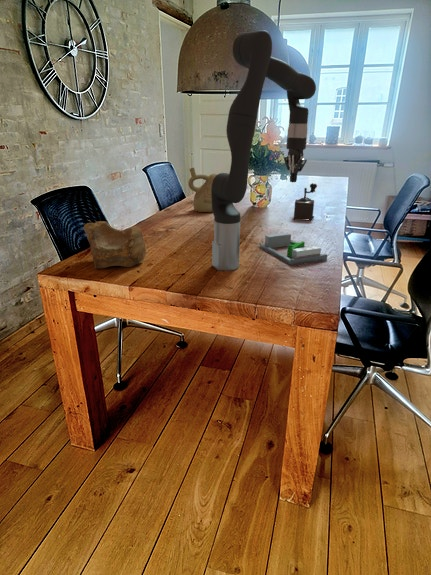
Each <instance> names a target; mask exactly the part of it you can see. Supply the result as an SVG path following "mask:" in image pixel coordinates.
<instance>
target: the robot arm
mask: <svg viewBox="0 0 431 575" xmlns="http://www.w3.org/2000/svg"><path fill="white" fill-rule="evenodd" d="M272 40H273V38H272V36H271V34H270V33H269V31H267V30H265V29H264V30H263V29H261V30H253V31H248V32H246V31H245V32H242V33H240V34H238V35H237V36H236V37H235V39H234V40H233V44H232V56H233V58H234V61H235V62H236V63H237V64H238V65H239V66H241V67H244V68H246V69H248V70H247V71H248V72H247V75H246V79H245V81H244V83H243V85H242V87H241V88H240V90H239V92H238V93H237V95H236V96H235V98H234V99H233V101H232V103H231V105H230V108H229V110H228V117H227V122H226V129H225V130H226V137H227V142H228V145H229V150H230V154H231V160H230V161H231V162H230V169H229V173H227V172H226V173H225V172H221V173H218V174H217V175H216V176H215V178H214V179H213V182H212V187H211V197H212V212H211V213H212V214H213V218H214V221H213V222H214V223H213V224H214V227H213V228H214V231H213V232H214V233H213V236H214V237H213V238H214V240H212V241H211V258H212V259H211V264H212V265H211V266H213V268H214V269H216V270H217V271H235V270H237V269H239V267H240V248H241V247H240V244H241V243H240V242H241V218H242V217H241V213H240V211H239V210H238V209H237V208H236V207H235V206H234V204H239V203H240V202H242V200H243V199H244V198H245V195H246V193H247V188H248V181H249V180H248V179H249V170H250V169H249V168H250V158H251V152H252V145H253V139H254V135H255V130H256V125H257V119H258V113H259V108H260V106H259V105H260V102H261V96H262V94H263V93H262V92H263V87H264V84H265V80H266V78H267V79H269V80H270V81H271V82H273V83H274V84H276V85H277V86H278V87H280V88H281V89H283V90H284V91H286V97H287V103H288V110H289V116H288V117H289V120H288V126H287V136H286V150H288V151H287V155H286V156H284V157H283V160H284V164H285V166H286V170H287V171H289V173H290V176H289V182H290V183H296V182H297V180H298V173H300V172H302V170H303V168H304V167H305V165H306V164H307V161H308V160H307V159H306V158H304V150H306V148H307V139H308V123H309V121H308V120H309V108H308V107H307V106H304V105H301V103H300V100H310V99H311V98H313V96H314V95H315V94H316V90H317V85H316V82H315V80H314V79H313V78H312V77H311V76H309V75H307V74H306V73H303V72H300V71H297V70H296V69H295V68H294V67H293V66H291V65H290V64H289V63H287V62H285V61H284V60H281V59H280V58H276V57H273V56H272V53H273V41H272Z"/></svg>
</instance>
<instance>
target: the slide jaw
mask: <svg viewBox="0 0 431 575" xmlns="http://www.w3.org/2000/svg"><path fill="white" fill-rule="evenodd" d="M291 238H292V234H291V233H289V232H280V233H271V234H265V236H264V244H265V245H267V246H268V247H270V248H272V249H275V248H280V247H282V248H283V247H288V245H290V242H291V240H292V239H291Z"/></svg>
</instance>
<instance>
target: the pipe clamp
mask: <svg viewBox="0 0 431 575" xmlns="http://www.w3.org/2000/svg"><path fill="white" fill-rule="evenodd" d="M304 246H305V241H301V242H297V243H296V241H295V242H293V243H292V245H288V246H287V252H286V256H287V257H288V256H289V258H290V259H292V249H297V248H304Z"/></svg>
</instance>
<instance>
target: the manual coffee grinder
mask: <svg viewBox="0 0 431 575" xmlns="http://www.w3.org/2000/svg"><path fill="white" fill-rule="evenodd" d="M317 187H318V185H317V183H310V184H309V188H310V191H308V190H307V187H304V191H303V192H304V195H303V197H302V198H299V199H295V202H294V212H293V220H295V219H309V220H308V221H311V220H312V219H313V220H314V218H315V216H314V209H315V208H314V206H315V200H314V199H312V198H310V197H307V194H313V193H315V192H316V189H317ZM313 220H312V221H313Z"/></svg>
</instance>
